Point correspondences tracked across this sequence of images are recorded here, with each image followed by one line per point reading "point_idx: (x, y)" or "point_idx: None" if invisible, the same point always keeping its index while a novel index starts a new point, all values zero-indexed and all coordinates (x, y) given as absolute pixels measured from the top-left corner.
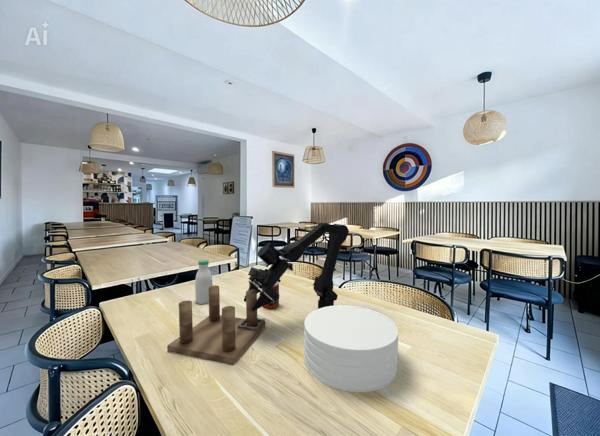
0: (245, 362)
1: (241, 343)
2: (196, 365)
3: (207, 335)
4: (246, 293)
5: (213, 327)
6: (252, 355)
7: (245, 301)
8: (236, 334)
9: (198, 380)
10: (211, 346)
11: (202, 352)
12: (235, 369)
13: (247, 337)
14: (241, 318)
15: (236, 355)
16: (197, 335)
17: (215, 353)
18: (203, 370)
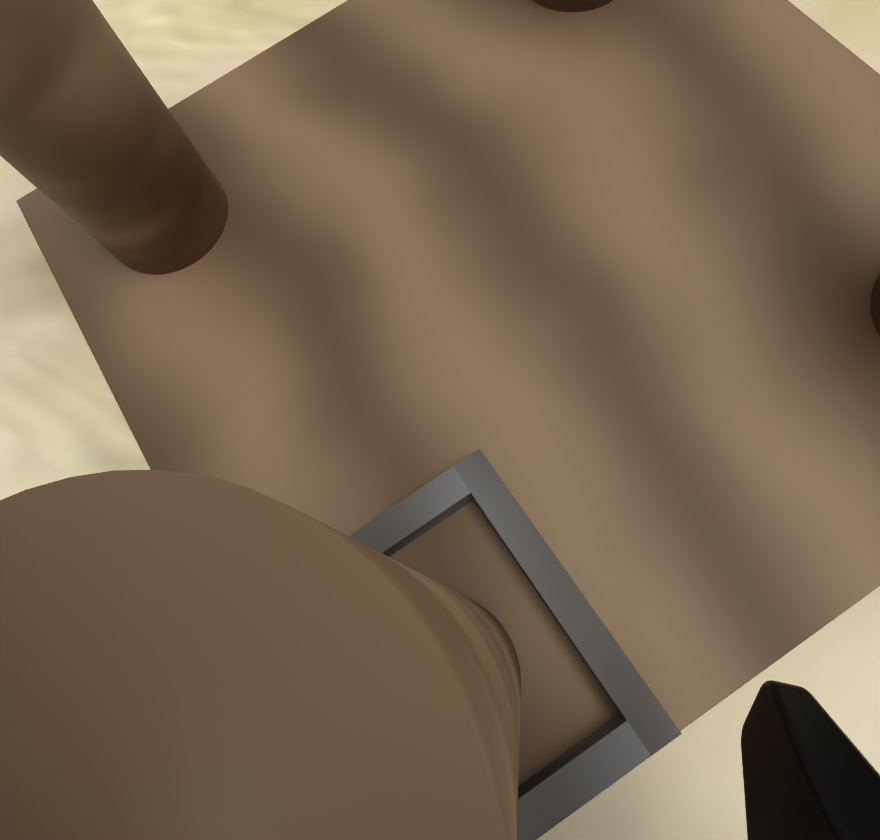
0: (8, 315)
1: (149, 344)
2: (258, 34)
3: (551, 131)
4: (178, 480)
5: (705, 231)
6: (34, 406)
7: (745, 732)
8: (353, 382)
9: (104, 17)
10: (317, 110)
11: (290, 37)
12: (4, 224)
13: (203, 454)
14: (761, 662)
15: (34, 235)
16: (620, 58)
17: (192, 109)
18: (170, 58)
